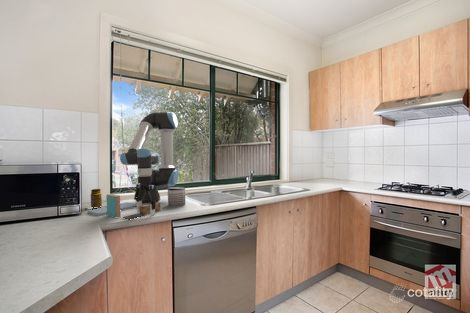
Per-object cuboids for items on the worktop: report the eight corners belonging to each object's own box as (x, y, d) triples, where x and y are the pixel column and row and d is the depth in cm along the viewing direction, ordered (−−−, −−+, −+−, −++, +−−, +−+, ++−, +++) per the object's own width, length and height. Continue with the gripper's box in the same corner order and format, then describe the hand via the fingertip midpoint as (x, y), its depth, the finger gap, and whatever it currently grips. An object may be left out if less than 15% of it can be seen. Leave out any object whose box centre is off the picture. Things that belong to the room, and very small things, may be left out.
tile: (110, 214, 130) (110, 194, 129) (120, 217, 124) (119, 195, 124) (106, 215, 128) (106, 194, 127) (116, 218, 122) (115, 196, 122)
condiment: (104, 206, 150) (104, 188, 150) (92, 209, 142) (91, 190, 142) (97, 205, 153) (96, 188, 153) (84, 208, 145) (84, 190, 145)
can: (164, 205, 151) (164, 187, 150) (180, 202, 158) (179, 185, 158) (172, 208, 142) (172, 189, 142) (188, 205, 150) (188, 187, 149)
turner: (155, 210, 139) (155, 201, 139) (162, 211, 135) (162, 202, 135) (122, 218, 121) (122, 209, 121) (129, 220, 118) (129, 211, 118)
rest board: (126, 204, 155) (125, 202, 155) (137, 206, 147) (137, 204, 147) (87, 213, 135) (87, 210, 134) (98, 216, 127) (98, 213, 127)
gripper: (126, 175, 132) (127, 212, 133) (152, 177, 119) (153, 218, 120) (138, 174, 139) (139, 209, 139) (164, 175, 126) (165, 214, 126)
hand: (146, 213), depth 129 cm, fingers open, 11 cm apart
